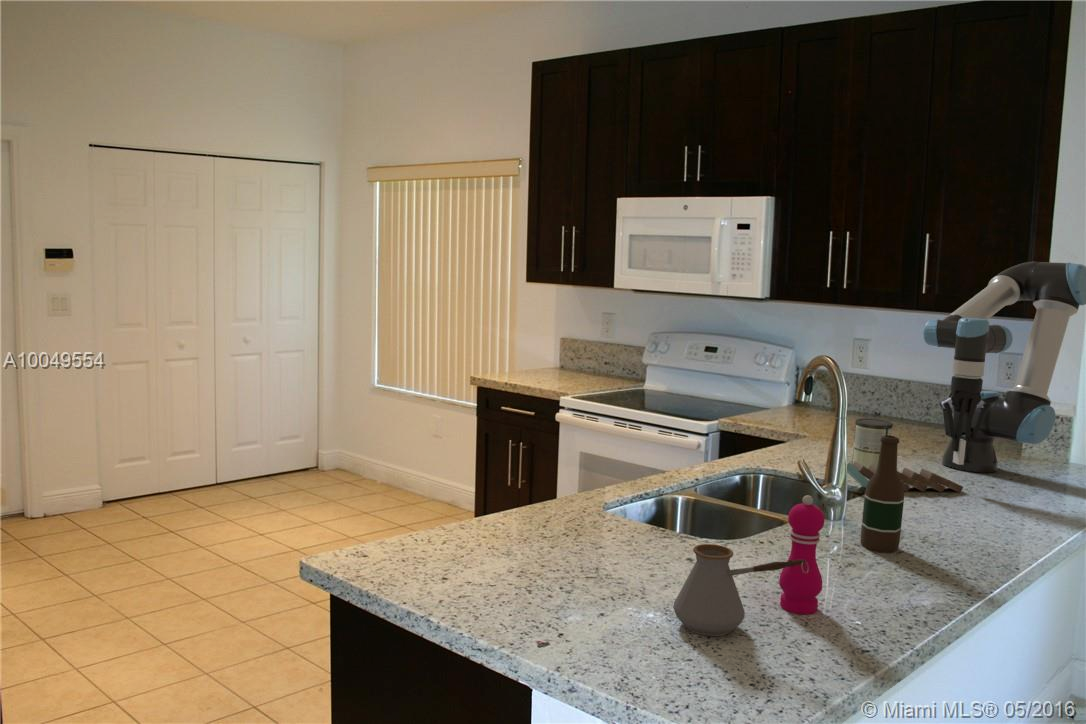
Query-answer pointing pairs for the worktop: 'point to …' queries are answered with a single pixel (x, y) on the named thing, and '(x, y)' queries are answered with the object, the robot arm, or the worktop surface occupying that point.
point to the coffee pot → (716, 591)
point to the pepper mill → (804, 541)
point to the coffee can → (869, 440)
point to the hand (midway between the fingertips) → (958, 463)
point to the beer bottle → (883, 502)
